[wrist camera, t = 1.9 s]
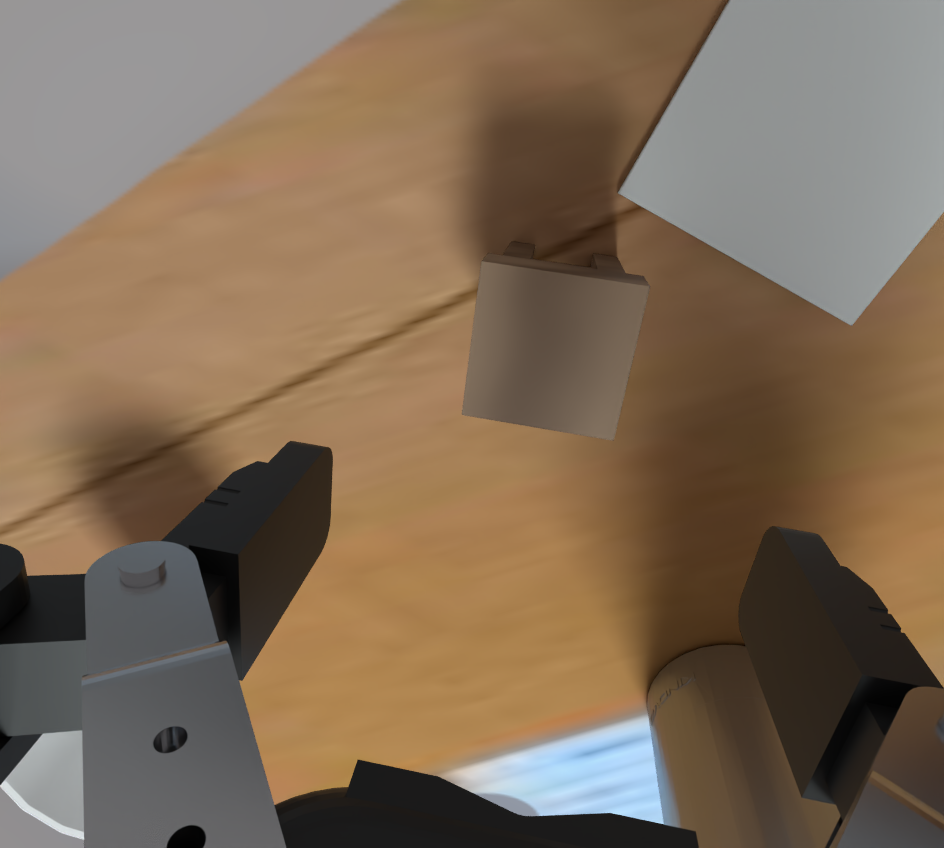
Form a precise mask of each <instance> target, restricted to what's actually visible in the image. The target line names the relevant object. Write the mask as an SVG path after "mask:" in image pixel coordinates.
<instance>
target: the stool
mask: <svg viewBox="0 0 944 848" xmlns="http://www.w3.org/2000/svg"><path fill="white" fill-rule="evenodd" d="M534 249H535V245H533V244H526V243H519V242H511V243H510V245H509V246H508V248H507V249H506V251H505V252H504V254H503V255H498V254H491V253H488V254H487V255H486V256H485V258H484V259H483V260H482V261H481V269H480V277H479V284H478V292H477V300H476V308H475V315H474V323H473V331H472V339H471V346H470V354H469V362H468V370H467V378H466V385H465V393H464V401H463V409H462V415H466V416H472V417H477V418H483V419H489V420H495V421H501V422H507V423H513V424H519V425H524V426H530V427H536V428H542V429H548V430H554V431H560V432H566V433H572V434H577V435H583V436H589V437H595V438H601V439H607V440H613V441H614V437H615V433H616V429H617V424H618V420H619V416H620V412H621V408H622V403H623V399H624V395H625V391H626V387H627V382H628V378H629V374H630V370H631V365H632V361H633V357H634V353H635V349H636V344H637V340H638V336H639V332H640V328H641V323H642V319H643V315H644V311H645V306H646V302H647V298H648V294H649V290H650V286H649V284H648V282H647V281H646V279H645V278H644V276H638V275H632V274H626V273H625V271H624V269H623V267H622V265H621V263H620V261H619V260H618V258H617V257H614V256H607V255H600V254H594V253H593V257H592V262H591V268H590V267H583V266H577V265H570V264H563V263H557V262H550V261H543V260H537V259H533V255H534Z"/></svg>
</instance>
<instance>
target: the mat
mask: <svg viewBox="0 0 944 848" xmlns="http://www.w3.org/2000/svg"><path fill="white" fill-rule="evenodd" d="M618 193H619V194H620V195H622V196H624V197H626V198H627V199H629V200H631V201H633V202H634V203H636V204H638V205H640V206H641V207H643V208H645V209H647V210H649V211H650V212H652V213H654V214H656V215H657V216H659V217H661V218H663V219H664V220H666V221H668V222H670V223H671V224H673V225H675V226H677V227H678V228H680V229H682V230H684V231H685V232H687V233H689V234H691V235H693V236H694V237H696V238H698V239H700V240H701V241H703V242H705V243H707V244H708V245H710V246H712V247H714V248H715V249H717V250H719V251H721V252H722V253H724V254H726V255H728V256H730V257H731V258H733V259H735V260H737V261H738V262H740V263H742V264H744V265H745V266H747V267H749V268H751V269H752V270H754V271H756V272H758V273H759V274H761V275H763V276H765V277H766V278H768V279H770V280H772V281H774V282H775V283H777V284H779V285H781V286H782V287H784V288H786V289H788V290H789V291H791V292H793V293H795V294H796V295H798V296H800V297H802V298H803V299H805V300H807V301H809V302H811V303H812V304H814V305H816V306H818V307H819V308H821V309H823V310H825V311H826V312H828V313H830V314H832V315H833V316H835V317H837V318H839V319H840V320H842V321H844V322H846V323H848V324H849V325H851V326H852V325H853V324H854V322H855V321H856V320H857V319H858V317H859V316H860V315H861V314H862V312H863V311H864V310H865V309H866V307H867V306H868V305H869V304H870V303H871V301H872V300H873V299H874V298H875V296H876V295H877V294H878V293H879V291H880V290H881V289H882V288H883V286H884V285H885V284H886V283H887V281H888V280H889V279H890V278H891V277H892V275H893V274H894V273H895V272H896V270H897V269H898V268H899V267H900V265H901V264H902V263H903V262H904V260H905V259H906V258H907V257H908V255H909V254H910V253H911V252H912V250H913V249H914V248H915V247H916V246H917V244H918V243H919V242H920V241H921V239H922V238H923V237H924V236H925V234H926V233H927V232H928V231H929V229H930V228H931V227H932V226H933V224H934V223H935V222H936V221H937V219H938V218H939V217H940V216H941V215H942V213H943V212H944V0H729V1H728V3H727V4H726V6H725V8H724V10H723V11H722V13H721V15H720V16H719V18H718V20H717V22H716V23H715V25H714V27H713V29H712V30H711V32H710V34H709V35H708V37H707V39H706V41H705V42H704V44H703V46H702V48H701V49H700V51H699V53H698V55H697V56H696V58H695V60H694V61H693V63H692V65H691V67H690V68H689V70H688V72H687V74H686V75H685V77H684V79H683V80H682V82H681V84H680V86H679V87H678V89H677V91H676V93H675V94H674V96H673V98H672V99H671V101H670V103H669V105H668V106H667V108H666V110H665V112H664V113H663V115H662V117H661V119H660V120H659V122H658V124H657V125H656V127H655V129H654V131H653V132H652V134H651V136H650V138H649V139H648V141H647V143H646V144H645V146H644V148H643V150H642V151H641V153H640V155H639V157H638V158H637V160H636V162H635V164H634V165H633V167H632V169H631V170H630V172H629V174H628V176H627V177H626V179H625V181H624V183H623V184H622V186H621V188H620V189H619V191H618Z"/></svg>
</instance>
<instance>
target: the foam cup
mask: <svg viewBox="0 0 944 848" xmlns="http://www.w3.org/2000/svg"><path fill="white" fill-rule="evenodd" d="M0 787H1V788H2V789H3V790H4V791H5V792H6V793H7V794H8V795H9V796H10V797H11V798H12V799H13V801H14V802H15V803H16V804H17V805H18V806H19V807H20V808H21V809H22V810H24V811H25V812H27V813H29V814H30V815H32V816H34V817H35V818H37V819H39V820H40V821H42V822H44V823H45V824H47V825H49V826H50V827H52V828H54V829H55V830H57V831H59V832H60V833H63V834H66V835H69V836H73V837H76V838H80V839H83V840H84V806H83V749H82V730H80V731H68V732H56V733H44V734H42V735H41V737H40V738H39V739H38V740H37V741H36V743H35V744H34V745H33V746H32V748H31V749H30V750H29V751H28V752H27V754H26V755H25V756H24V757H23V758H22V760H21V761H20V762H19V763H18V765H17V766H16V767H15V768H14V769H13V771H12V772H11V773H10V774H9V775H8V777H7V778H6V779H5V780H4V782H3V783H2V784H1V785H0Z"/></svg>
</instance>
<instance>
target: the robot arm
mask: <svg viewBox="0 0 944 848" xmlns="http://www.w3.org/2000/svg"><path fill="white" fill-rule="evenodd" d="M332 466H333V456H332V451H331V449H330V448H329V447H324V446H318V445H312V444H306V443H301V442H295V441H290V442H288V443H287V444H286V445H285V446H284V447H283V448H282V449H281V450H280V451H279V452H278V453H277V454H276V455H275V456H274V457H273V458H272V459H271V460H270V461H269V462H268V463H265V462H259V461H257V462H255V463H252V464H250V465H248V466H246V467H243V468H241V469H239V470H237V471H235V472H233V473H232V474H231V475H230V476H229V477H228V478H227V479H226V480H225V481H223V482H222V483H221V484H220V485H219V486H218V489H217V490H214V491H213V492H212V493H211V494H210V495H209V496H208V497H207V498H206V499H205V502H204V503H203V502H201V503H200V504H199V505H198V506H197V507H196V508H195V509H194V510H193V511H192V512H191V513H190V514H189V515H188V516H187V517H186V518H185V519H184V520H183V521H181V522H180V523H179V524H178V525H177V526H176V527H175V528H174V529H173V530H172V531H171V532H170V533H169V534H168V535H167V536H166V537H165V538H164V539H163V540H161V541H147V542H139V543H134V544H130V545H126V546H123V547H120V548H118V549H115V550H113V551H111V552H109V553H107V554H105V555H104V556H102V557H101V558H99V559H98V560H97V561H96V562H94V563H93V564H92V565H91V567H90V568H89V569H88V571H87V573H86V574H73V575H40V576H27V573H26V568H25V563H24V558H23V556H22V554H21V553H20V552H19V551H18V550H17V549H15V548H13V547H11V546H8V545H4V544H0V785H1V784H2V783H3V782H4V780H5V779H6V778H7V777H8V775H9V774H10V773H11V772H12V771H13V769H14V768H15V767H16V766H17V765H18V763H19V762H20V761H21V760H22V758H23V757H24V756H25V755H26V754H27V752H28V751H29V750H30V749H31V748H32V746H33V745H34V744H35V743H36V741H37V740H38V739H39V738H40V737H41V735H42V734H44V733H56V732H68V731H80V730H82V749H83V806H84V848H944V688H943V687H942V685H941V684H940V682H939V681H938V680H937V678H936V677H935V675H934V674H933V673H932V671H931V670H930V668H929V667H928V666H927V664H926V663H925V661H924V660H923V658H922V657H921V656H920V654H919V653H918V651H917V650H916V649H915V647H914V646H913V644H912V643H911V642H910V640H909V639H908V637H907V636H906V635H905V633H901V628H900V626H899V625H898V623H897V622H896V621H895V619H894V618H893V616H892V615H891V614H888V609H887V608H886V606H885V605H884V604H883V602H882V601H881V599H880V598H879V597H878V595H877V594H876V592H875V591H874V590H873V588H872V587H870V586H869V585H868V584H867V583H866V582H864V581H863V580H862V579H861V578H859V577H858V576H857V575H856V574H855V573H853V572H852V571H851V570H850V569H848V568H847V567H843V566H840V564H839V563H838V561H837V560H836V559H835V557H834V556H833V554H832V553H831V551H830V550H829V548H828V547H827V545H826V544H825V542H824V541H823V539H822V538H821V537H820V536H819V535H818V534H815V533H810V532H804V531H799V530H793V529H787V528H781V527H776V526H772V527H770V528H769V529H768V530H767V531H766V532H765V534H764V536H763V539H762V541H761V544H760V547H759V549H758V552H757V555H756V557H755V560H754V563H753V566H752V568H751V571H750V574H749V576H748V579H747V582H746V585H745V587H744V590H743V593H742V596H741V599H740V604H739V616H738V617H739V628H740V632H741V635H742V637H743V640H744V643H745V646H741V645H715V646H710V647H704V648H700V649H697V650H694V651H691V652H688V653H686V654H683V655H682V656H680V657H678V658H677V659H675V660H673V661H671V662H670V663H669V664H668V665H667V666H666V667H665V668H663V669H662V670H661V671H660V672H659V674H658V675H657V677H656V678H655V679H654V681H653V682H652V685H651V687H650V690H649V693H648V700H647V710H648V716H649V723H650V730H651V737H652V744H653V751H654V757H655V766H656V773H657V780H658V787H659V794H660V801H661V807H662V814H663V821H664V824H659V823H655V822H650V821H645V820H640V819H636V818H631V817H626V816H622V815H617V814H612V813H601V814H577V815H554V816H522V815H518V814H516V813H513V812H511V811H509V810H507V809H504V808H503V807H500V806H498V805H496V804H494V803H492V802H490V801H488V800H486V799H484V798H482V797H479V796H478V795H476V794H473V793H471V792H469V791H467V790H465V789H463V788H461V787H459V786H457V785H455V784H453V783H451V782H448V781H446V780H444V779H442V778H440V777H438V776H433V775H428V774H423V773H419V772H414V771H409V770H404V769H400V768H395V767H390V766H386V765H381V764H376V763H371V762H367V761H362V760H358V761H357V764H356V767H355V770H354V773H353V775H352V778H351V781H350V784H349V787H342V788H331V789H325V790H319V791H314V792H310V793H307V794H303V795H300V796H296V797H293V798H290V799H288V800H286V801H283V802H281V803H278V804H276V805H274V802H273V799H272V795H271V792H270V788H269V785H268V781H267V778H266V774H265V771H264V767H263V764H262V760H261V757H260V753H259V750H258V746H257V743H256V739H255V735H254V732H253V728H252V725H251V721H250V718H249V714H248V711H247V707H246V704H245V700H244V697H243V693H242V690H241V686H240V683H239V680H241V681H242V680H243V679H244V677H245V675H246V674H247V672H248V671H249V669H250V667H251V666H252V664H253V663H254V661H255V659H256V658H257V656H258V654H259V653H260V651H261V650H262V648H263V646H264V645H265V643H266V641H267V640H268V638H269V637H270V635H271V633H272V632H273V630H274V628H275V627H276V625H277V624H278V622H279V620H280V619H281V617H282V615H283V614H284V612H285V611H286V609H287V607H288V606H289V604H290V602H291V601H292V599H293V598H294V596H295V594H296V593H297V591H298V589H299V588H300V586H301V585H302V583H303V581H304V580H305V578H306V576H307V575H308V573H309V572H310V570H311V568H312V567H313V565H314V563H315V562H316V560H317V559H318V557H319V555H320V554H321V552H322V550H323V548H324V545H325V543H326V540H327V536H328V532H329V527H330V517H331V492H332Z"/></svg>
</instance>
